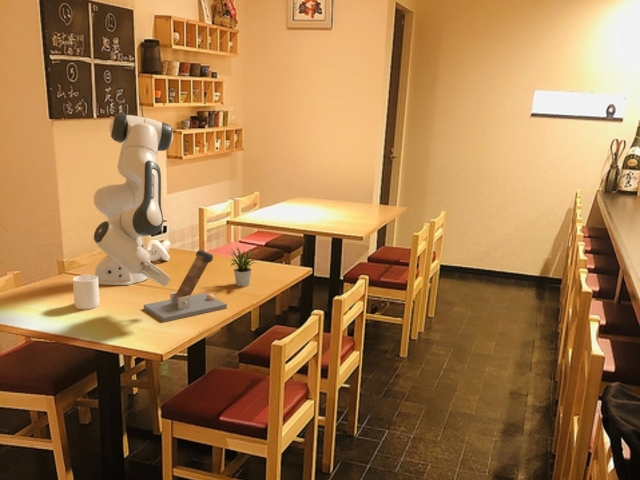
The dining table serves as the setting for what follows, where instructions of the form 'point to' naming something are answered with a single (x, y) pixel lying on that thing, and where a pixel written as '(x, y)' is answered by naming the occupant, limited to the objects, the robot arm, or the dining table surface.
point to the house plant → (242, 268)
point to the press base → (184, 306)
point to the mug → (86, 292)
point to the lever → (194, 273)
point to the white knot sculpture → (158, 250)
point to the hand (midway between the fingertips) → (165, 283)
